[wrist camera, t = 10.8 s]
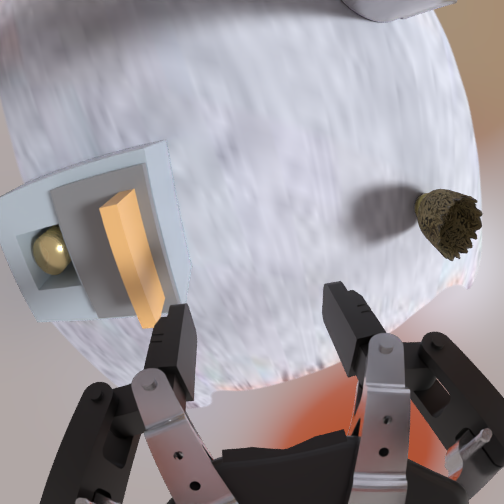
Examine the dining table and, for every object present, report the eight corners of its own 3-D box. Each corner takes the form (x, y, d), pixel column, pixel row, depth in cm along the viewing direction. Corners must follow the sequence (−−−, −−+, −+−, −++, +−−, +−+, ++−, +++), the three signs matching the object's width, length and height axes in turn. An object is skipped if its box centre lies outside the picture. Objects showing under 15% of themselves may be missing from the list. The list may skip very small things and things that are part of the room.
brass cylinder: (84, 207, 25) (55, 231, 19) (96, 240, 27) (72, 270, 21) (57, 217, 25) (27, 242, 19) (69, 248, 27) (44, 278, 21)
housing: (166, 139, 24) (144, 148, 17) (191, 266, 30) (184, 312, 23) (29, 181, 23) (-13, 203, 16) (64, 283, 30) (37, 322, 23)
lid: (145, 162, 17) (124, 175, 13) (181, 305, 23) (175, 341, 19) (55, 187, 17) (24, 205, 13) (101, 312, 22) (86, 345, 19)
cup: (390, 205, 29) (431, 232, 22) (426, 165, 27) (471, 182, 20) (416, 242, 32) (451, 272, 25) (448, 205, 30) (487, 228, 23)
